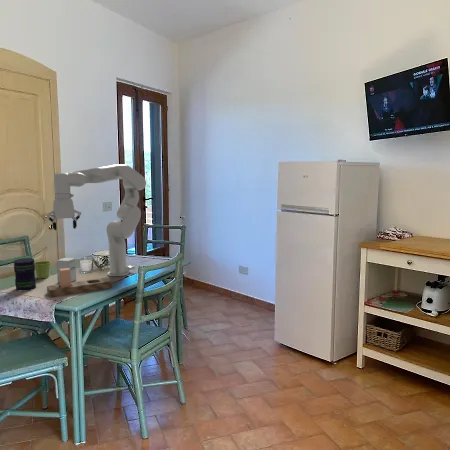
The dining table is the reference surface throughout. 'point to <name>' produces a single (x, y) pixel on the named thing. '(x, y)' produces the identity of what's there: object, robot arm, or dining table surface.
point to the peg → (65, 277)
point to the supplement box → (66, 264)
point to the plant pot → (42, 269)
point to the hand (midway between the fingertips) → (65, 229)
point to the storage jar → (25, 274)
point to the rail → (79, 287)
